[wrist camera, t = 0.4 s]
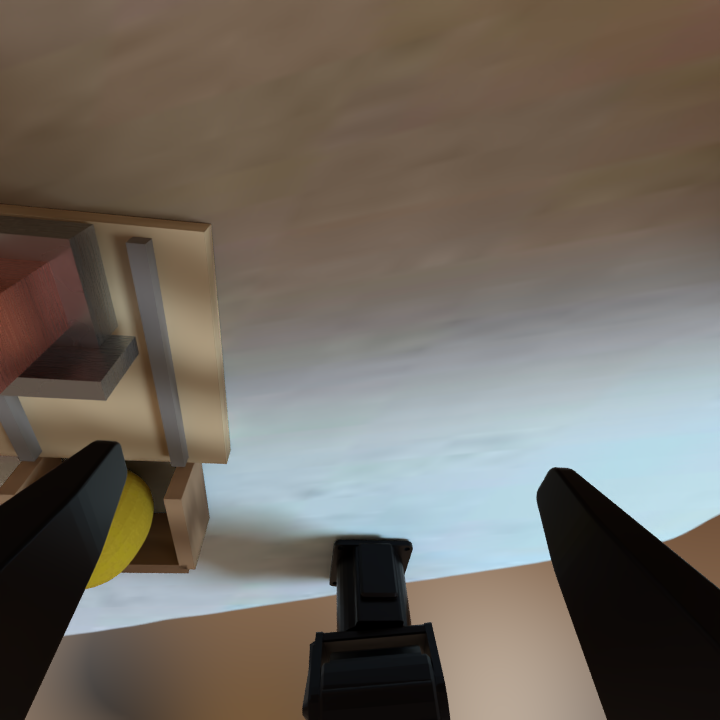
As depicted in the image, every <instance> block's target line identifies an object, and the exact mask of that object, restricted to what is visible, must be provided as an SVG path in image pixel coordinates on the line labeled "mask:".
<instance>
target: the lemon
mask: <svg viewBox="0 0 720 720" xmlns="http://www.w3.org/2000/svg"><path fill="white" fill-rule="evenodd" d="M153 512H154V501H153V497H152V493H151V491H150V488H149V487H148V485H147V484H146V483H145V481H144V480H143V479H142V478H140V477H139V476H138V475H136V474H134V473H133V472H131V471H130V470H128V469H127V478H126V482H125V485H124V488H123V491H122V494H121V497H120V500H119V503H118V506H117V509H116V512H115V515H114V518H113V521H112V524H111V526H110V529H109V532H108V535H107V538H106V541H105V544H104V547H103V550H102V552H101V555H100V558H99V560H98V562H97V564H96V567H95V569H94V571H93V573H92V576H91V578H90V580H89V582H88V584H87V586H86V588H85V589H88V588H92V587H96V586H98V585H101V584H103V583H106V582H107V581H109V580H111V579H113V578H114V577H115V576H117V575H118V574H119V573H121V572H122V571H123V570H124V569H125V568H126V567H127V566H128V565H129V563H130V562H131V561H132V560H133V558H134V557H135V555H136V554H137V552H138V551H139V549H140V548H141V546H142V545H143V543H144V541H145V539H146V537H147V535H148V533H149V530H150V527H151V523H152V518H153Z"/></svg>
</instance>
